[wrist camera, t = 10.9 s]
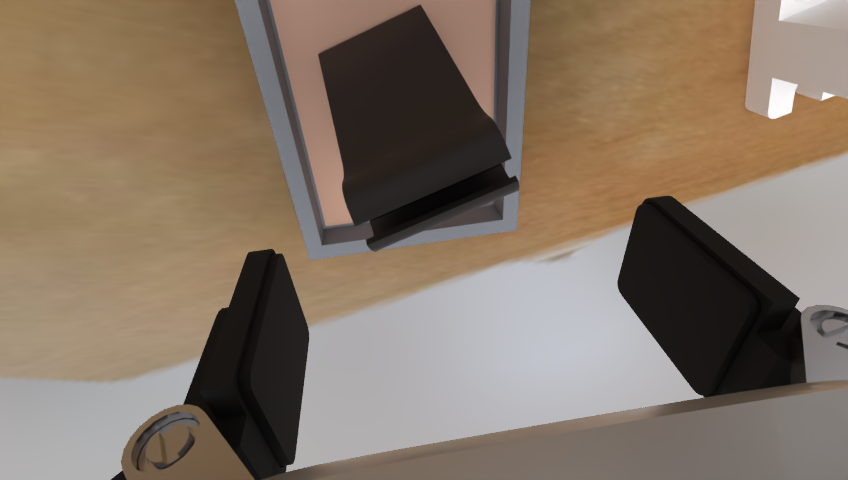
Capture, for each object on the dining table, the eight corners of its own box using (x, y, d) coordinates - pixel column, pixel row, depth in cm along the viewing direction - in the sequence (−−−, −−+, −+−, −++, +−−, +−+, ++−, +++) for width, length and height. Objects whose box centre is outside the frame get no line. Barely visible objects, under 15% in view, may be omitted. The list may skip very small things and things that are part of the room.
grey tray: (514, -80, 21) (535, -85, 19) (503, 208, 31) (516, 230, 28) (234, -56, 20) (218, -58, 18) (313, 235, 30) (309, 260, 27)
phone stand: (318, 51, 22) (292, 124, 13) (420, 3, 22) (478, 38, 12) (387, 188, 27) (408, 315, 18) (472, 151, 27) (542, 262, 17)
